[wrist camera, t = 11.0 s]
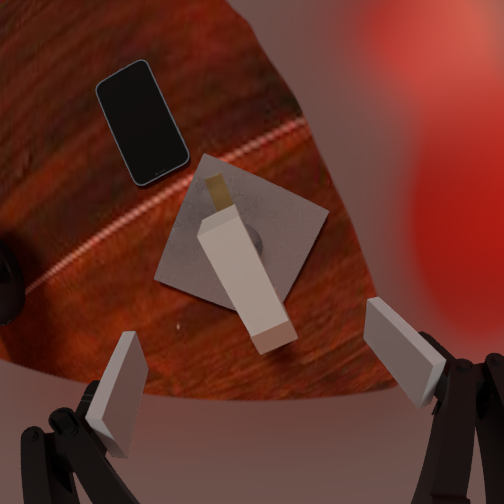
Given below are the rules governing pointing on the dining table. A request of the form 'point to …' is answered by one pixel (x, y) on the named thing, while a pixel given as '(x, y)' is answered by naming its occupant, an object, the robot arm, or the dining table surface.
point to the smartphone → (141, 123)
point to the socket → (256, 221)
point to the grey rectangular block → (246, 279)
